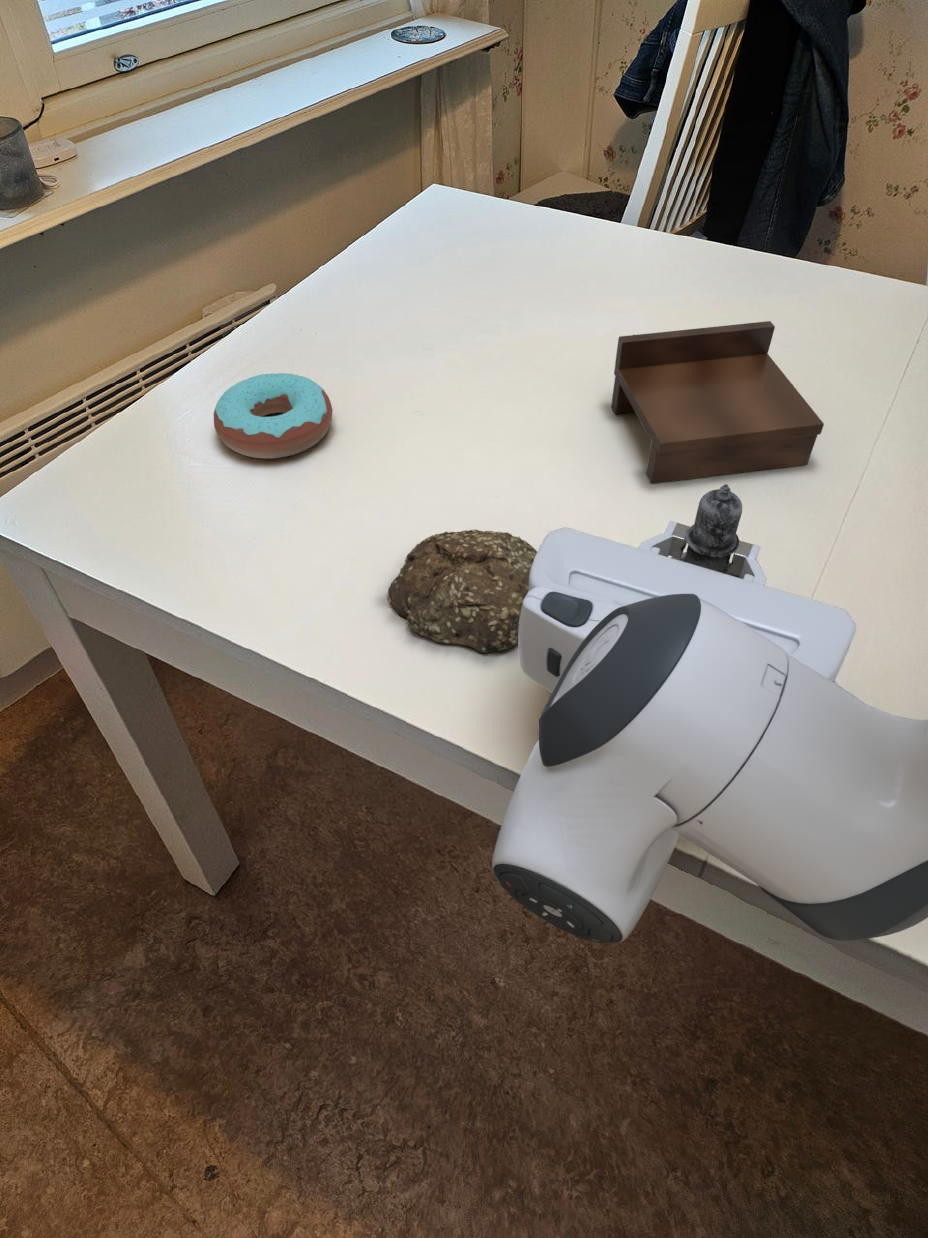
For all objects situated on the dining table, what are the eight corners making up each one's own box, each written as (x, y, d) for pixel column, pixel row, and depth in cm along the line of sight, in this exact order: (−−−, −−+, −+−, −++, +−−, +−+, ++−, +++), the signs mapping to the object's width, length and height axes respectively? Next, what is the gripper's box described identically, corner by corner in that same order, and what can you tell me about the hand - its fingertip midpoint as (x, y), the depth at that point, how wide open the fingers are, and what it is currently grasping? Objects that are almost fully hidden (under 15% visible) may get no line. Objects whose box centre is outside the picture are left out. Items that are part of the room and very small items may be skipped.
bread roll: (553, 557, 76) (557, 513, 73) (528, 662, 68) (531, 619, 64) (412, 536, 78) (409, 493, 75) (372, 636, 70) (366, 592, 66)
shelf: (752, 389, 94) (770, 320, 88) (809, 467, 85) (834, 395, 79) (609, 405, 92) (618, 336, 86) (652, 486, 83) (665, 415, 77)
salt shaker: (644, 630, 63) (670, 501, 54) (662, 577, 67) (690, 448, 58) (725, 652, 62) (766, 523, 53) (740, 597, 65) (780, 468, 57)
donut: (354, 442, 88) (350, 408, 85) (242, 481, 84) (234, 446, 81) (306, 387, 95) (301, 354, 92) (201, 420, 91) (192, 387, 88)
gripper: (849, 707, 46) (885, 548, 55) (498, 592, 52) (579, 466, 61) (816, 773, 51) (854, 617, 59) (497, 660, 57) (573, 534, 65)
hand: (712, 540), depth 60 cm, fingers closed on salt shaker, 3 cm apart
